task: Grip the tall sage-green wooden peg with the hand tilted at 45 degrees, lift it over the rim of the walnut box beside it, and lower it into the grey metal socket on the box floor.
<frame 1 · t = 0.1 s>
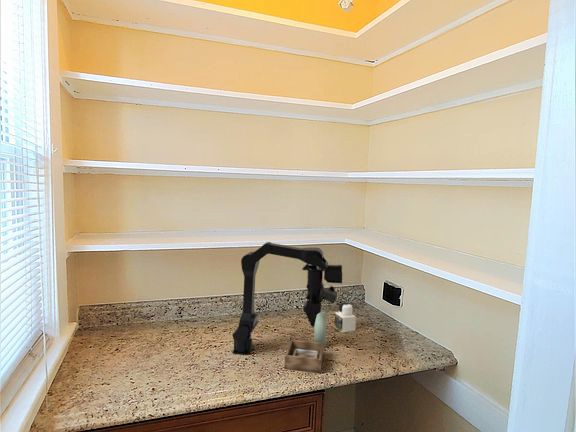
hand: (314, 321, 133), 15 cm above the worktop, tool pointing down, fingers open, 9 cm apart
sage peg: (319, 345, 145), on the worktop
walnut box: (304, 361, 132), on the worktop
medicine bottle: (344, 329, 162), on the worktop
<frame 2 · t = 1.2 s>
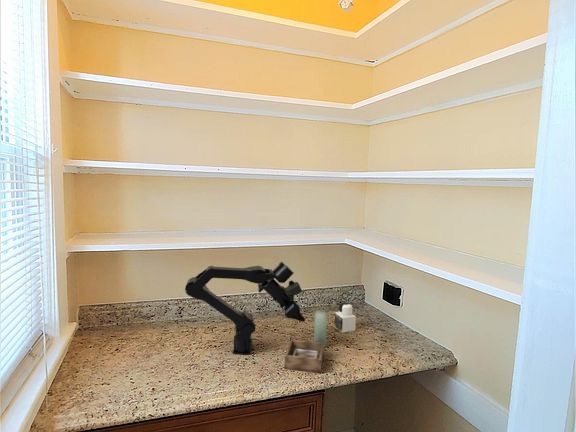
hand: (302, 316, 142), 13 cm above the worktop, tool tilted 45°, fingers open, 9 cm apart
nothing on the worktop moved.
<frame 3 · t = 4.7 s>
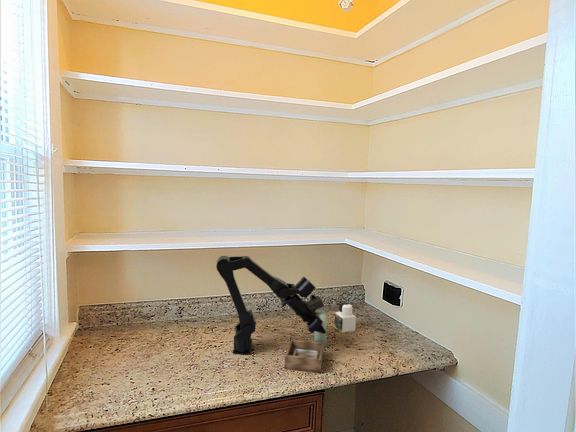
hand: (323, 330, 145), 7 cm above the worktop, tool tilted 45°, fingers closed on sage peg, 5 cm apart
sage peg: (319, 345, 145), on the worktop, touching gripper
everything else where it was.
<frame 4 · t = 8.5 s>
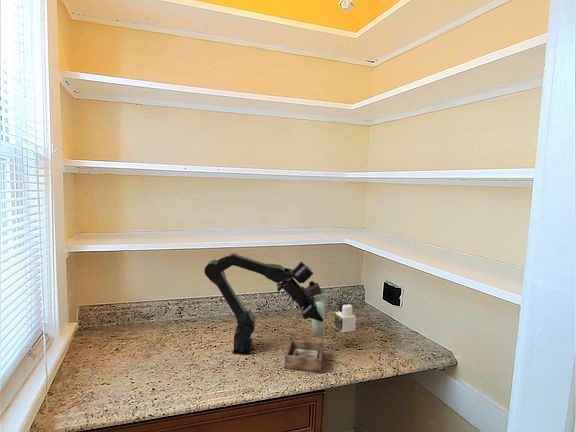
hand: (321, 318, 139), 14 cm above the worktop, tool tilted 45°, fingers closed on sage peg, 5 cm apart
sage peg: (317, 334, 140), point 7 cm above the worktop, touching gripper
everything else where it was.
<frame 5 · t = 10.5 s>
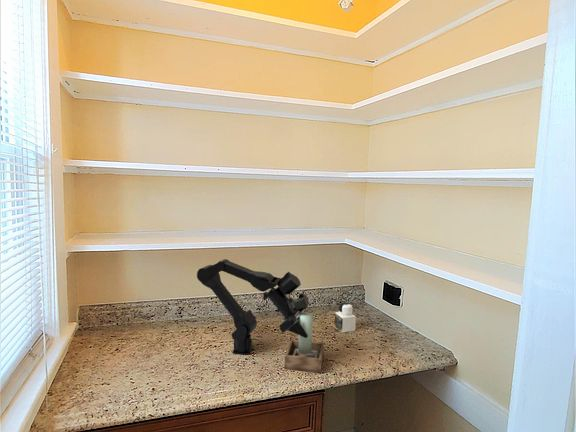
hand: (308, 334, 130), 11 cm above the worktop, tool tilted 45°, fingers closed on sage peg, 5 cm apart
sage peg: (304, 350, 131), point 5 cm above the worktop, touching gripper
everything else where it was.
when the fingers open (9 cm above the worktop, at t = 12.0 s): sage peg stays where it is, resting on walnut box.
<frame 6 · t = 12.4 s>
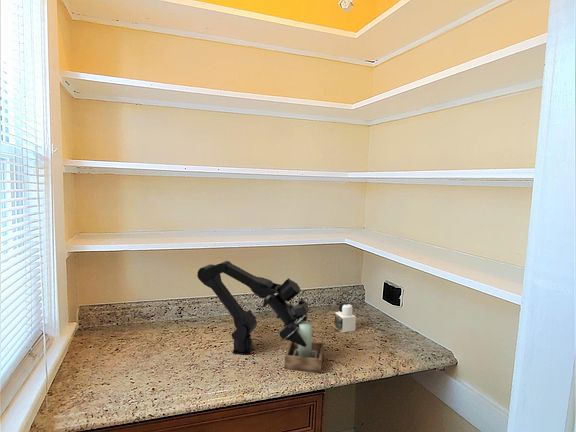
hand: (308, 340, 130), 9 cm above the worktop, tool tilted 45°, fingers open, 9 cm apart
sage peg: (304, 359, 131), point 1 cm above the worktop, touching walnut box
everything else where it was.
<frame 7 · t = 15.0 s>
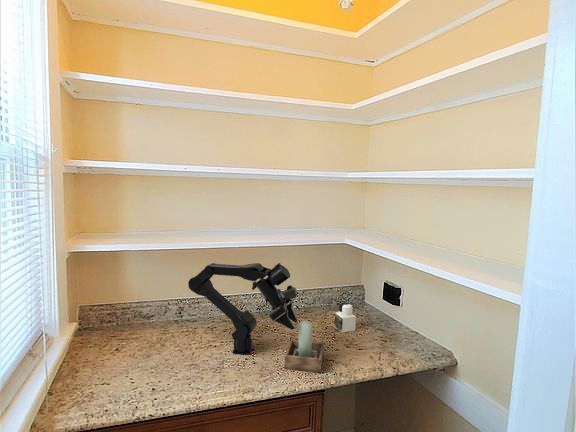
hand: (294, 325, 132), 13 cm above the worktop, tool tilted 40°, fingers open, 9 cm apart
nothing on the worktop moved.
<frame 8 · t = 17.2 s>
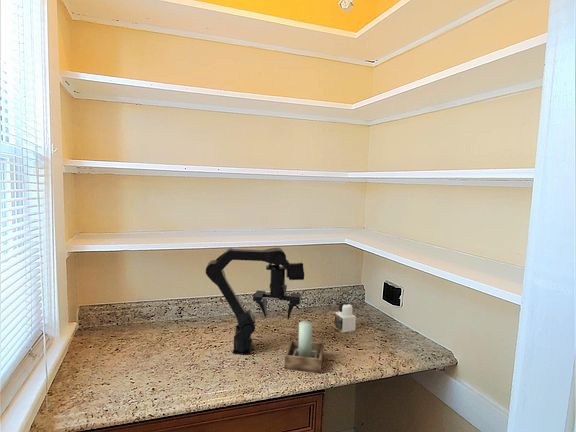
hand: (277, 318, 140), 13 cm above the worktop, tool pointing down, fingers open, 9 cm apart
nothing on the worktop moved.
at the end: sage peg 0.0 cm off-centre on the walnut box, point 1.0 cm above the walnut box's base; sage peg tilted 0°; the gripper is holding nothing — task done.
